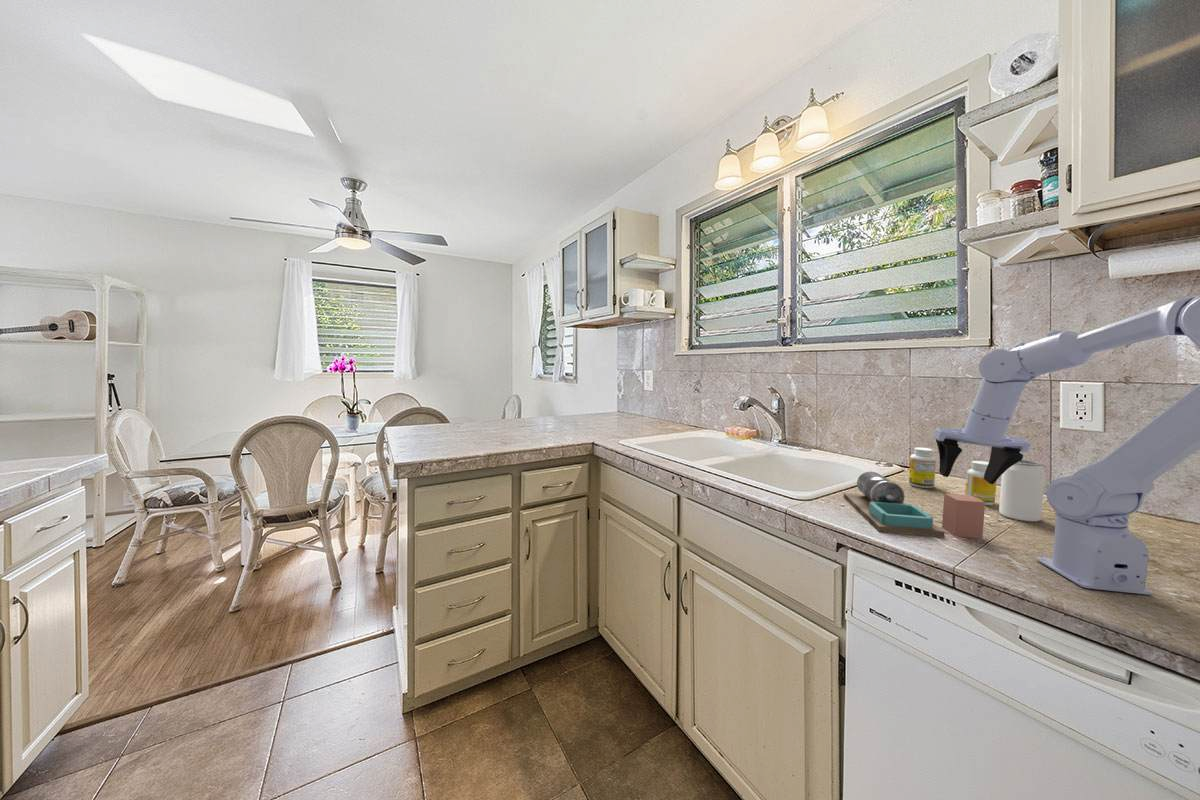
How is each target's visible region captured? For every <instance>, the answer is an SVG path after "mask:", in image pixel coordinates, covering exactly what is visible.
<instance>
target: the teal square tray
mask: <svg viewBox="0 0 1200 800" xmlns="http://www.w3.org/2000/svg"><path fill="white" fill-rule="evenodd" d="M869 512H870V513H871V514H872V515H873V516H874V517H875V518H876V519H877V520H879V521H880V522H881V523H884V524H886V525H891V526H903V527H915V528H927V529H932V524H934V523H933V521H934V516H932V515H931V514H929V513H928V512H926V511H924V510H923V509H921V508H920V507H919V506H917V505H913V504H911V503H910V504H909V503H904V504H899V503H885V502H871V501H870V503H869ZM887 513H892V514H887ZM897 514H905V515H897ZM910 515H911V516H910Z"/></svg>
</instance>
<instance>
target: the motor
mask: <svg viewBox="0 0 1200 800" xmlns="http://www.w3.org/2000/svg"><path fill="white" fill-rule="evenodd" d="M856 486H857V489H858V490H859V492H860V494H864V495H865V496H866V497H867V498H869V499H870V500H871V501H872V502H885V503H899V504H902V503H904V501H905V497H906V496H905V492H904V489H903V488H902V487H901V486H900V485H899V484H897V483H895V482H894V481H892V480H891V481H890V480H889V479H888V478H886V477H884V476H883V475H881V474H880V473H878V472H876V471H866V472H863V473H861V474H860V475H859V477H858V478H857V481H856Z"/></svg>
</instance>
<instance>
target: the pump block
mask: <svg viewBox="0 0 1200 800" xmlns="http://www.w3.org/2000/svg"><path fill="white" fill-rule="evenodd" d="M985 507H986V505H985V502H984V501H982V500H980V499H978V498H976V497H974V496H972V495H965V494H959V493H944V494H943V507H942V521H941V528H943V530H946V531H947V532H949V533H950V534H951V535H952V536H955V537H962V538H963V537H964V538H975V539H983V534H984V523H985V511H986V509H985Z"/></svg>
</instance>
